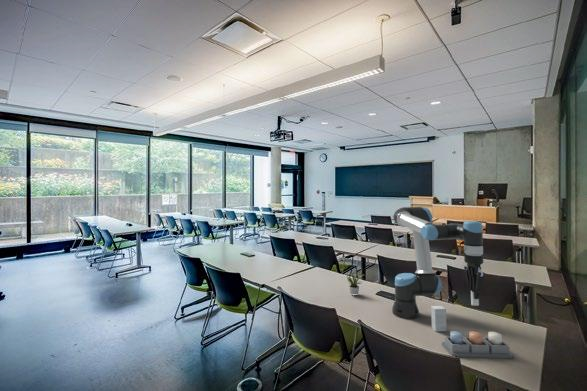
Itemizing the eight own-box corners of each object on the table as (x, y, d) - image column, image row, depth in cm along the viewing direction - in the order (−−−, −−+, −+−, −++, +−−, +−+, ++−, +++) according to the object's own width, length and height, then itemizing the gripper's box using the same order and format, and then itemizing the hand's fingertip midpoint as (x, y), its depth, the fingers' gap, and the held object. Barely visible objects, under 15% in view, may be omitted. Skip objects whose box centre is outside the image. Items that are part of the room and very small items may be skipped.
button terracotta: (466, 338, 134) (466, 331, 134) (478, 338, 133) (478, 331, 133) (473, 344, 129) (473, 336, 128) (485, 344, 128) (485, 337, 128)
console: (441, 344, 137) (441, 335, 137) (498, 345, 135) (498, 336, 135) (451, 356, 127) (451, 346, 127) (513, 357, 125) (513, 347, 125)
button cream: (485, 339, 133) (485, 331, 133) (497, 339, 133) (497, 331, 133) (492, 344, 128) (492, 337, 128) (504, 345, 128) (504, 337, 128)
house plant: (364, 291, 211) (364, 269, 211) (367, 298, 197) (367, 274, 197) (345, 291, 212) (344, 269, 212) (346, 297, 199) (346, 274, 198)
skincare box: (442, 327, 154) (441, 305, 154) (446, 331, 149) (446, 308, 149) (431, 328, 154) (430, 305, 153) (435, 331, 149) (435, 309, 149)
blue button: (448, 338, 134) (448, 330, 134) (459, 338, 134) (459, 331, 134) (453, 344, 129) (453, 336, 129) (465, 344, 129) (465, 336, 129)
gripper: (458, 251, 140) (459, 300, 140) (473, 257, 127) (474, 310, 127) (473, 251, 140) (475, 300, 139) (490, 257, 127) (492, 310, 126)
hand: (475, 304), depth 133 cm, fingers closed
